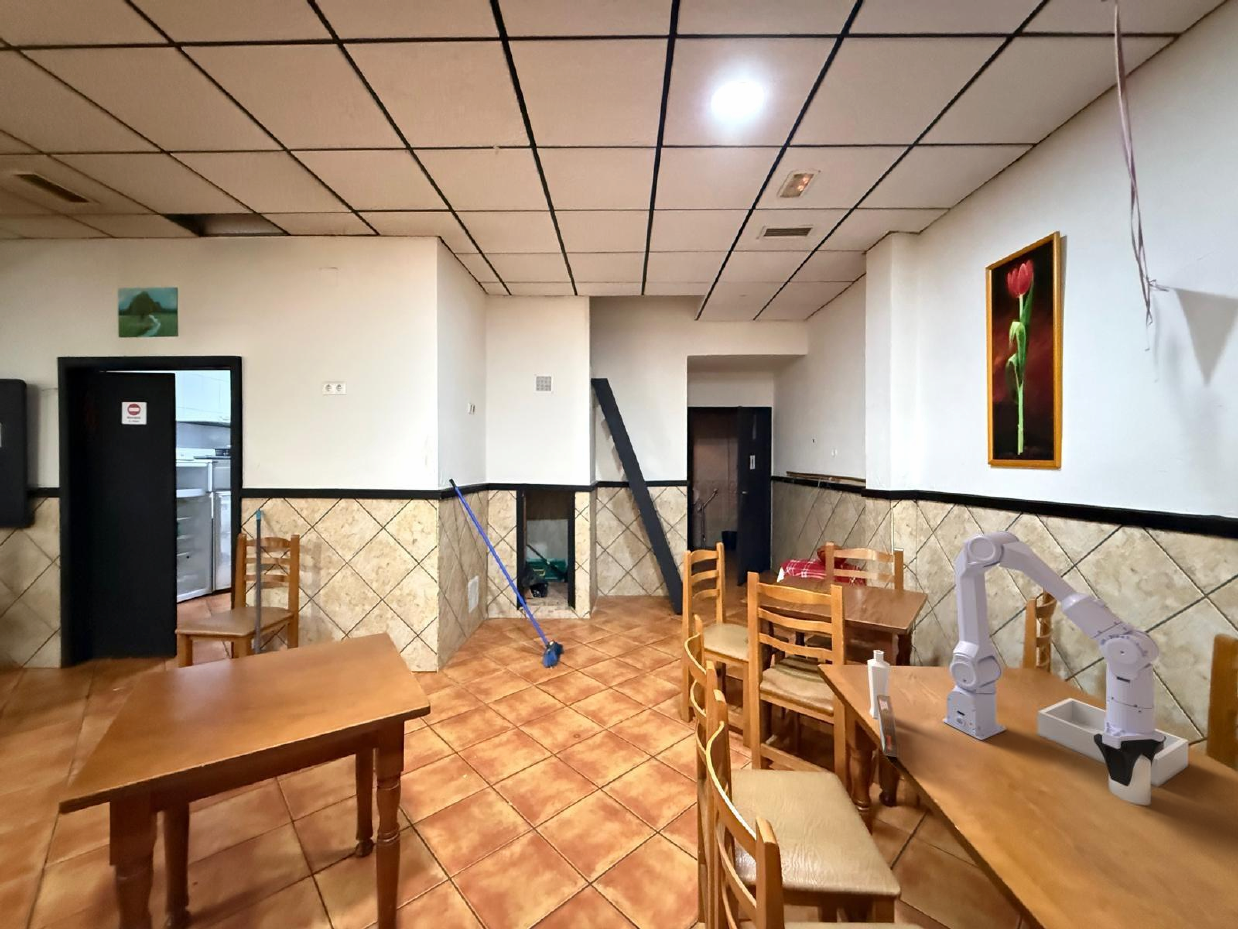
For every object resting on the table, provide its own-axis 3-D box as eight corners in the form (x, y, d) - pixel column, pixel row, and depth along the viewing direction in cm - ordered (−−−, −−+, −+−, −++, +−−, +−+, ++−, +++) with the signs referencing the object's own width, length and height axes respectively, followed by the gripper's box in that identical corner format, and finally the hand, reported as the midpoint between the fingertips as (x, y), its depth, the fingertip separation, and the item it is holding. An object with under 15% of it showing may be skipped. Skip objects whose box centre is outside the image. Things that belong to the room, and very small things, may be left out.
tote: (1157, 787, 84) (1157, 759, 84) (1037, 734, 100) (1037, 711, 100) (1188, 766, 89) (1188, 740, 89) (1070, 719, 105) (1070, 697, 105)
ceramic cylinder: (1143, 809, 79) (1143, 768, 79) (1103, 789, 83) (1103, 751, 83) (1156, 799, 81) (1156, 760, 81) (1116, 781, 85) (1116, 744, 85)
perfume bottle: (870, 708, 111) (870, 646, 111) (891, 715, 108) (891, 651, 108) (864, 715, 108) (864, 652, 108) (885, 723, 105) (885, 657, 105)
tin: (899, 767, 90) (899, 724, 90) (881, 763, 91) (881, 721, 91) (891, 726, 104) (891, 689, 103) (875, 723, 105) (875, 686, 105)
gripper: (1143, 721, 75) (1144, 804, 75) (1180, 701, 81) (1180, 778, 81) (1086, 701, 82) (1086, 777, 82) (1124, 684, 88) (1124, 755, 88)
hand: (1129, 776), depth 82 cm, fingers open, 7 cm apart
